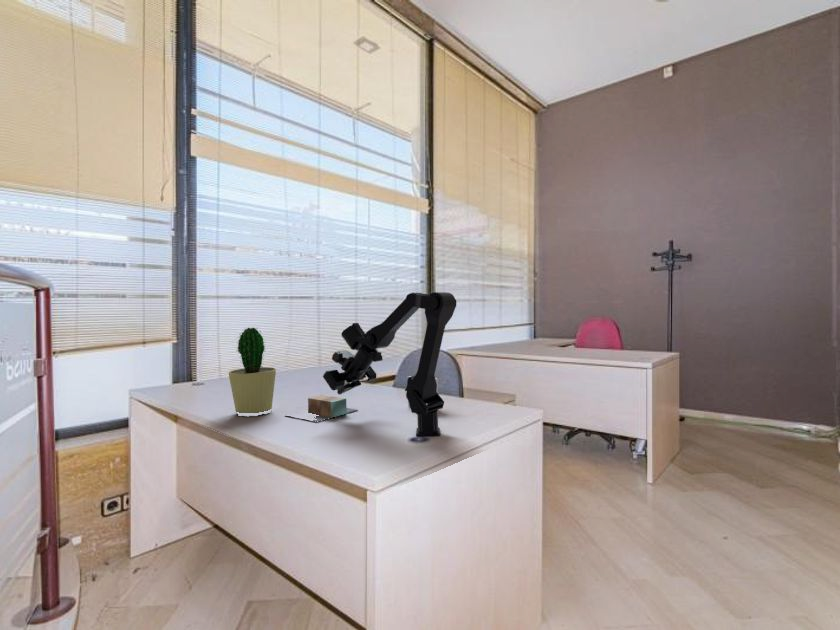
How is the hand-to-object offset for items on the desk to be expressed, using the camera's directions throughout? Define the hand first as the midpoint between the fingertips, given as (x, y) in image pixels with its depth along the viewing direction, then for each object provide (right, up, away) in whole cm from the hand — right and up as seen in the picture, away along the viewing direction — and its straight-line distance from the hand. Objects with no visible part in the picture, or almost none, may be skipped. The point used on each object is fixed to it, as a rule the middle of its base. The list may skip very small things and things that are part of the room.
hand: (338, 393), depth 145 cm
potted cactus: (-31, -8, +9) cm, 33 cm away
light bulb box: (+27, -7, +9) cm, 30 cm away
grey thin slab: (-7, -8, +5) cm, 12 cm away
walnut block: (0, -5, 0) cm, 5 cm away
